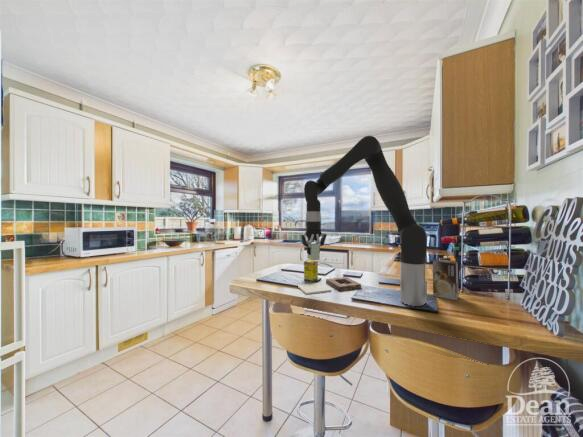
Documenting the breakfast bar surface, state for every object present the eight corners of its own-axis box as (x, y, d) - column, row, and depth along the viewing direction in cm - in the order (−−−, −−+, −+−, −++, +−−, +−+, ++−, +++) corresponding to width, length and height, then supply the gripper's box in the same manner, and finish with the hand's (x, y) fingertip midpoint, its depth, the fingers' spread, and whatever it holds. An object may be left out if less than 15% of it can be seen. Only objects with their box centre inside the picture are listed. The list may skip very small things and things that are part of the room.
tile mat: (319, 283, 126) (319, 282, 126) (330, 291, 114) (330, 289, 114) (297, 286, 122) (297, 284, 122) (306, 294, 110) (306, 292, 109)
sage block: (314, 257, 121) (314, 242, 121) (319, 259, 116) (319, 243, 115) (307, 258, 120) (307, 242, 120) (312, 260, 114) (312, 244, 114)
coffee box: (458, 296, 104) (459, 261, 104) (456, 301, 100) (456, 263, 99) (435, 292, 111) (435, 258, 110) (432, 295, 106) (432, 260, 106)
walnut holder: (346, 280, 132) (346, 276, 132) (361, 288, 118) (361, 284, 118) (326, 282, 128) (326, 279, 128) (339, 290, 114) (339, 286, 114)
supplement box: (312, 282, 129) (312, 262, 129) (303, 280, 133) (303, 261, 133) (318, 279, 134) (318, 260, 134) (309, 277, 138) (309, 259, 137)
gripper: (302, 221, 112) (302, 256, 112) (329, 220, 116) (329, 254, 116) (297, 220, 119) (297, 253, 119) (323, 220, 123) (323, 252, 123)
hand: (313, 254), depth 118 cm, fingers closed on sage block, 4 cm apart
